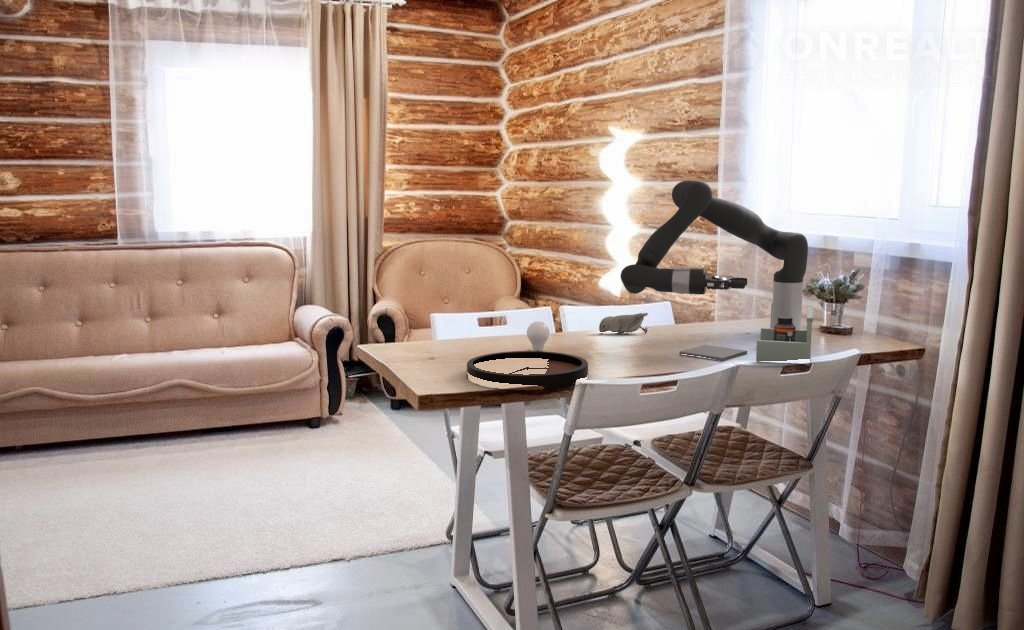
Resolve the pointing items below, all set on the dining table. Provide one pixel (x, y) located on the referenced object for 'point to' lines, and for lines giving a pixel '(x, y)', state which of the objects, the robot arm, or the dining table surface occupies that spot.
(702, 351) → the slate tile
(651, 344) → the dining table surface
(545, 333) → the lightbulb
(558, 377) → the wall clock
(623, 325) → the decorative bird
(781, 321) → the supplement bottle
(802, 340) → the sage green open tray
